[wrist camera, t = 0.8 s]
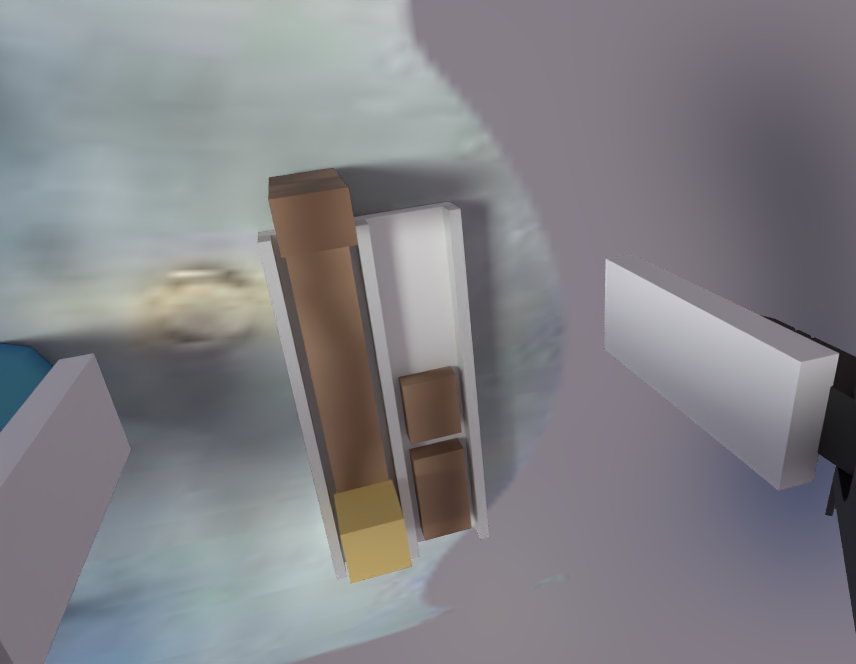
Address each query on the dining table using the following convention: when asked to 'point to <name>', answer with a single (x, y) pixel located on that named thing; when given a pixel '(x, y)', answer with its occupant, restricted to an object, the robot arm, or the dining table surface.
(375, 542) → the cube
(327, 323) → the strip
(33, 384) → the cup
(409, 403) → the broken strip
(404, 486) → the lane board
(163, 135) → the dining table surface
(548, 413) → the dining table surface
